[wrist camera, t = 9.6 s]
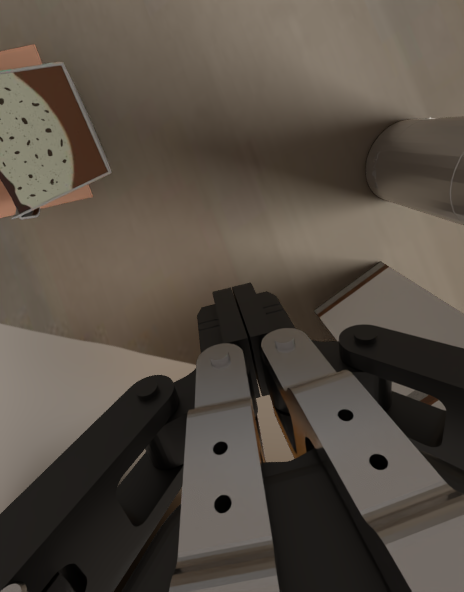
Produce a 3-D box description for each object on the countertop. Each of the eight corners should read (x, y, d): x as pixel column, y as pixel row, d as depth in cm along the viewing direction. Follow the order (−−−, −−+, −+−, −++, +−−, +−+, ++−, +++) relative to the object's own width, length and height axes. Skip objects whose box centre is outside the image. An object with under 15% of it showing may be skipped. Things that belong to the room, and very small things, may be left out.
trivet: (35, 44, 31) (33, 44, 31) (93, 196, 37) (92, 196, 37) (-79, 68, 30) (-81, 68, 30) (-1, 217, 37) (-2, 218, 36)
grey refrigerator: (348, 353, 53) (593, 671, 22) (314, 310, 48) (561, 633, 17) (410, 310, 51) (779, 592, 20) (380, 261, 46) (799, 525, 15)
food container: (66, 64, 33) (-37, 93, 32) (53, 40, 27) (-74, 74, 26) (120, 187, 38) (32, 218, 36) (118, 188, 32) (14, 224, 31)
